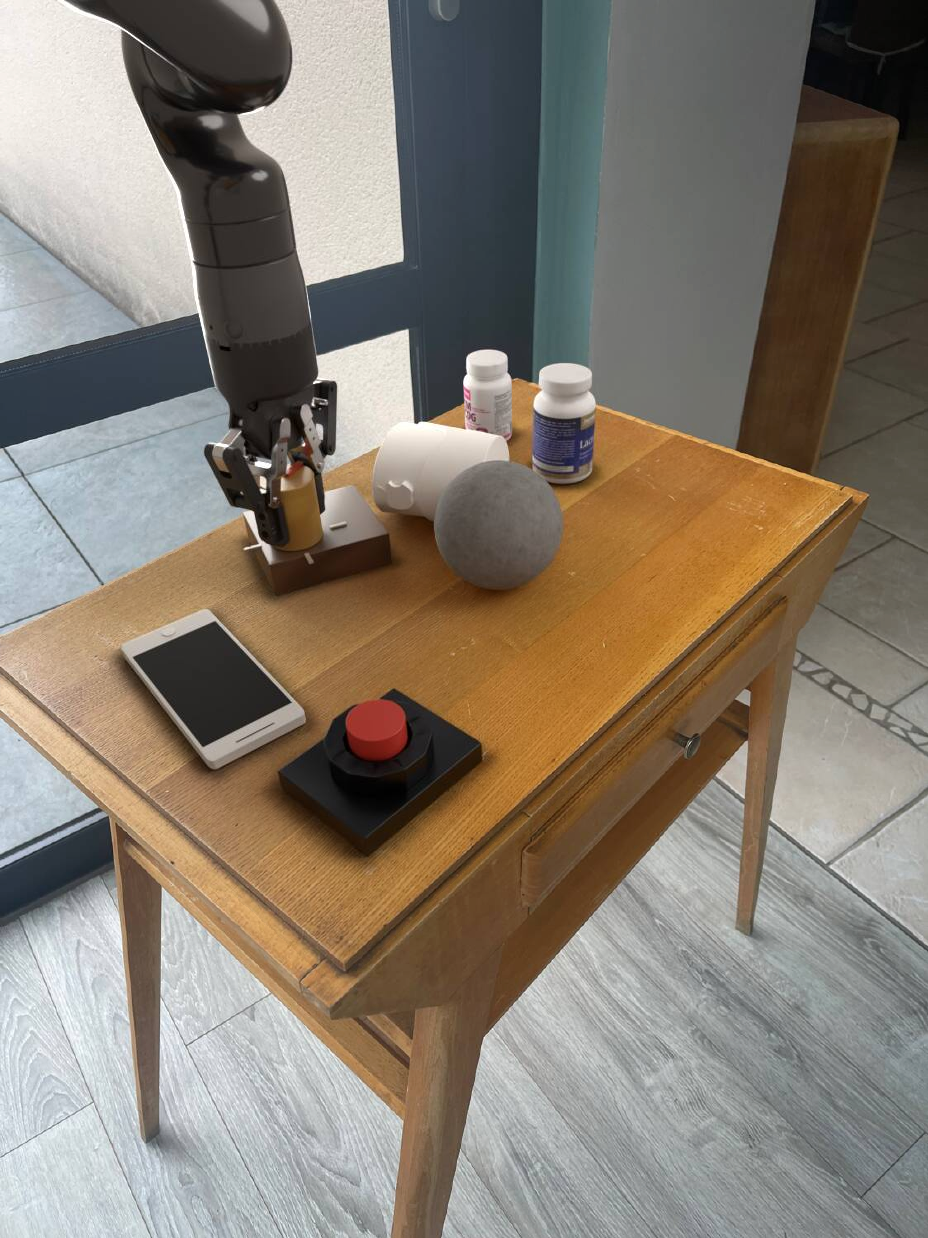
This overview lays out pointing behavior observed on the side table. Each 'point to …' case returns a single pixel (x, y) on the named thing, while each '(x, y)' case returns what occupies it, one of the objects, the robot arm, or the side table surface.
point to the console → (326, 545)
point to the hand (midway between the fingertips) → (294, 526)
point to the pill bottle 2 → (563, 424)
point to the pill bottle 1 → (488, 393)
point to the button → (376, 730)
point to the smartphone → (212, 687)
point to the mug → (427, 464)
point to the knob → (299, 507)
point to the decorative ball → (498, 525)
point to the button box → (380, 776)
